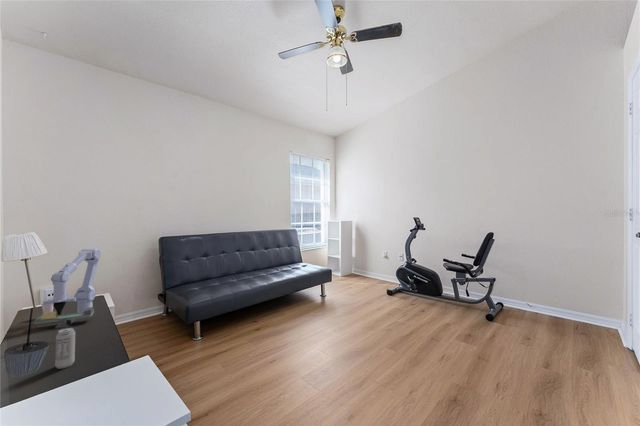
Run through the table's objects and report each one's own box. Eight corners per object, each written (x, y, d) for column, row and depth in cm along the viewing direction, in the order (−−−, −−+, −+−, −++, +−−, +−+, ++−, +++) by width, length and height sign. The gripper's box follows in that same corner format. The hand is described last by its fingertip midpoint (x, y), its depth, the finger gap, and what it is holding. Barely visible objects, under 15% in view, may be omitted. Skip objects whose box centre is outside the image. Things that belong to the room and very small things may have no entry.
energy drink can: (78, 361, 118) (79, 327, 118) (65, 369, 112) (66, 332, 112) (64, 362, 117) (65, 327, 118) (50, 369, 111) (51, 333, 112)
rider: (45, 318, 160) (45, 312, 160) (58, 316, 163) (58, 310, 163) (41, 321, 156) (41, 314, 156) (55, 319, 159) (55, 313, 159)
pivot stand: (62, 322, 166) (62, 314, 167) (75, 320, 169) (75, 312, 169) (55, 328, 156) (55, 320, 156) (68, 326, 159) (68, 318, 159)
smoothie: (38, 318, 174) (39, 296, 175) (52, 315, 180) (52, 294, 180) (42, 319, 171) (43, 297, 172) (56, 316, 177) (56, 295, 177)
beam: (40, 320, 161) (40, 313, 161) (94, 313, 173) (94, 306, 173) (33, 325, 153) (34, 317, 153) (90, 317, 165) (90, 310, 165)
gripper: (40, 295, 155) (39, 319, 154) (73, 292, 162) (73, 314, 161) (45, 292, 161) (45, 315, 161) (77, 289, 168) (76, 311, 168)
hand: (59, 314), depth 161 cm, fingers closed
